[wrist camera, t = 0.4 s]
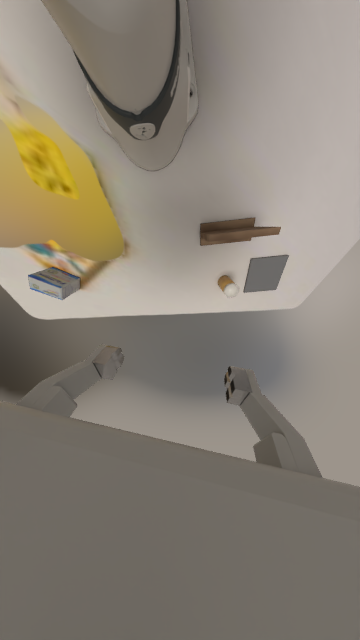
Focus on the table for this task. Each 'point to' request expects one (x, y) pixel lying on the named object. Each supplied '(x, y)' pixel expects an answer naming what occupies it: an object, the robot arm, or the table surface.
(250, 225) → the wooden stand
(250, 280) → the mat
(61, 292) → the medicine box
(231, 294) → the pill bottle
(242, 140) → the table surface
